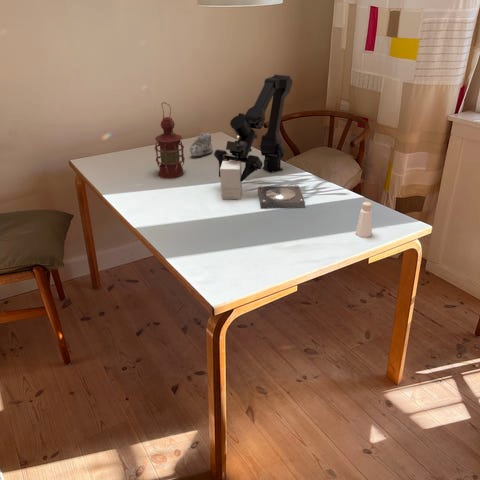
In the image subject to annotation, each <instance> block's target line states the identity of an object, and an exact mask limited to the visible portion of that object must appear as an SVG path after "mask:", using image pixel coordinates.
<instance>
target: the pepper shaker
mask: <svg viewBox="0 0 480 480" xmlns="http://www.w3.org/2000/svg"><path fill="white" fill-rule="evenodd" d="M372 228H373V210H372V202H369V201H364V202H362V208H361V209H360V212H359V217H358V221H357V226H356V229H355V230H356V231H355V236H358V237H359V238H369V237H372V234H373V232H372V231H373V229H372Z"/></svg>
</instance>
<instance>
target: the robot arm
mask: <svg viewBox="0 0 480 480" xmlns="http://www.w3.org/2000/svg"><path fill="white" fill-rule="evenodd" d="M292 86H293V79H292V77H291V76H290V75H288V74H287V75H285V74H274V75H273V76H270V77H269V76H268V77H267V78H265V79H264V82H263V86H262V89H261V90H260V93H259V94H258V96H257V98H256V101H255V103H254V104H253V106H251V107H250V108H248V110H247V111H246V113H241V112H239V113H238V115H235V116H234V117H233V118H232V119H231V120H230V121H229V122H230V123H229V124H230V127H231V129H232V130H233V131H234V133H235V134H236V136H239V138H238V141H237V140H235V141H230V140H227V141H226V146H225V149H216V150H215V151H214V152H213V156H214V157H215V159H216V160H217V162H218V178H220V179H221V177H220V167H221V164H222V161H241V163H244V164H245V165H244V168H243V171H242V172H241V173H242V176H241V178H240V181H241V182H242V183H243V182H244V181H245V179H247V178H248V177H249V176H251V174H252V173H254V172H255V171H256V172H257V171H258V170H262V169H263V170H264V171H266V172H268V173H276V172H279V171H284V170H283V168H282V167H281V164H282V163H281V161H282V158H284V156H285V149H284V147H283V146H282V138H281V135H280V130H281V129H280V128H281V123H282V116H283V111H284V104H285V99H286V97H288V95H289V94H290V93H291V89H292ZM270 102H271V106H270V107H271V108H270V113H269V119H268V126H267V131H266V133H265V134H262V136H261V141H260V144H259V145H260V146H259V148H260V149H259V150H260V153H261V156H264V159H263V162H262V160H261V158H260V157H259V156H257V155H252V154H250V153H251V152H252V150H253V149H252V146H253V143H254V141H255V139H258V135H257V131H255V130H261V129H262V128H263V127H264V125H265V121H266V115H265V114H266V111H267V109H268V107H269V105H270ZM227 151H229V154H228V152H227Z"/></svg>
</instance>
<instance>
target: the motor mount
mask: <svg viewBox="0 0 480 480" xmlns="http://www.w3.org/2000/svg"><path fill="white" fill-rule="evenodd" d="M257 193H258V199H259V200H258V201H259V206H260V209H289V208H290V209H293V208H294V209H297V208H300V209H301V208H303V209H304V208H305V207H306V200H305V198H304V196H303V193H302V190H301V188H300V185H298V184H295V185H282V186H281V185H276V186H272V185H271V186H270V185H269V186H263V185H260V186H258V187H257Z"/></svg>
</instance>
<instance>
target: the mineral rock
mask: <svg viewBox="0 0 480 480" xmlns="http://www.w3.org/2000/svg"><path fill="white" fill-rule="evenodd" d="M189 151H190V154H191V156H192V157H200V156H204V155H207V154H210V153H213V145H212V136H211V134H210V133H209V132H206V133H204V132H201V133H200V134H199V136H198V137H197V139H196V140H194V142H193V143H192V144H191V145H190V147H189Z"/></svg>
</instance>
